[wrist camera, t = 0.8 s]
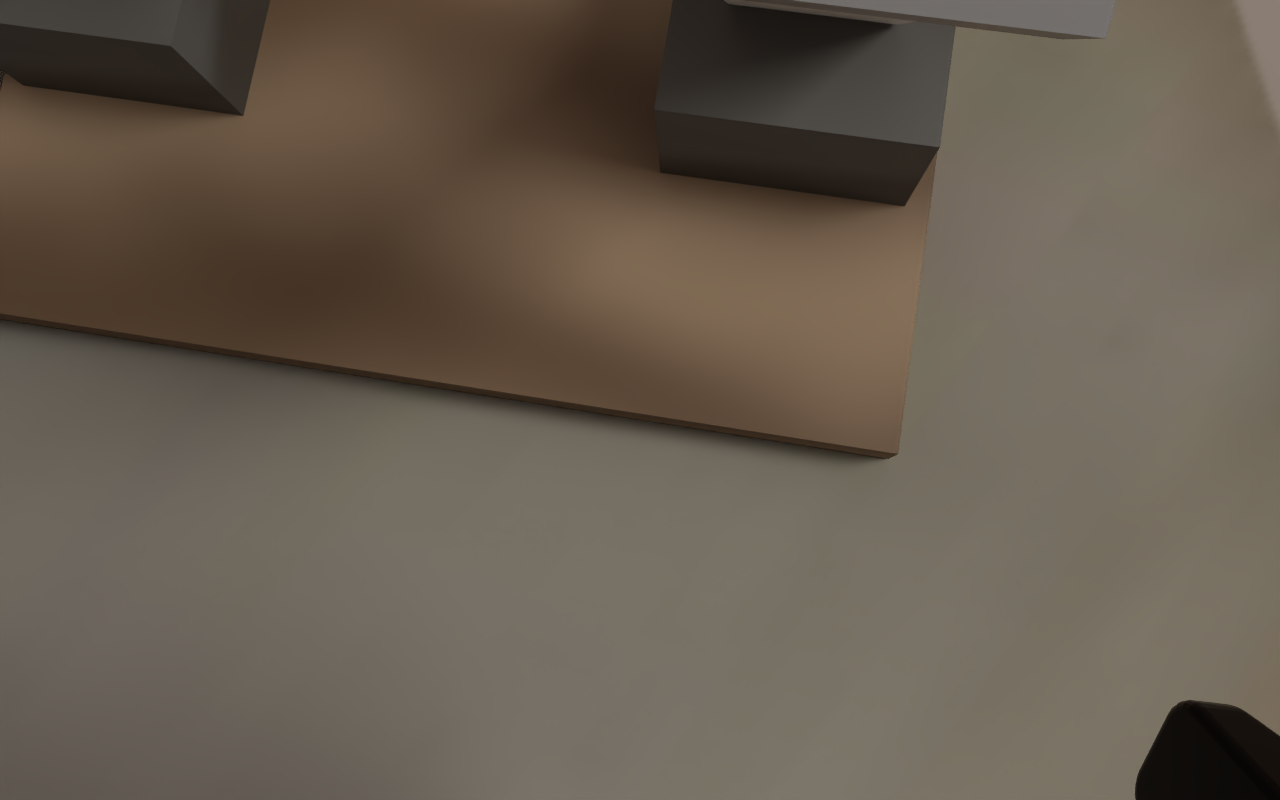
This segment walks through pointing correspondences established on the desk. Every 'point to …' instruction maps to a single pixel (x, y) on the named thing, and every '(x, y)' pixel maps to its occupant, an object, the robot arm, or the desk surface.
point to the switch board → (488, 197)
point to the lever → (967, 14)
